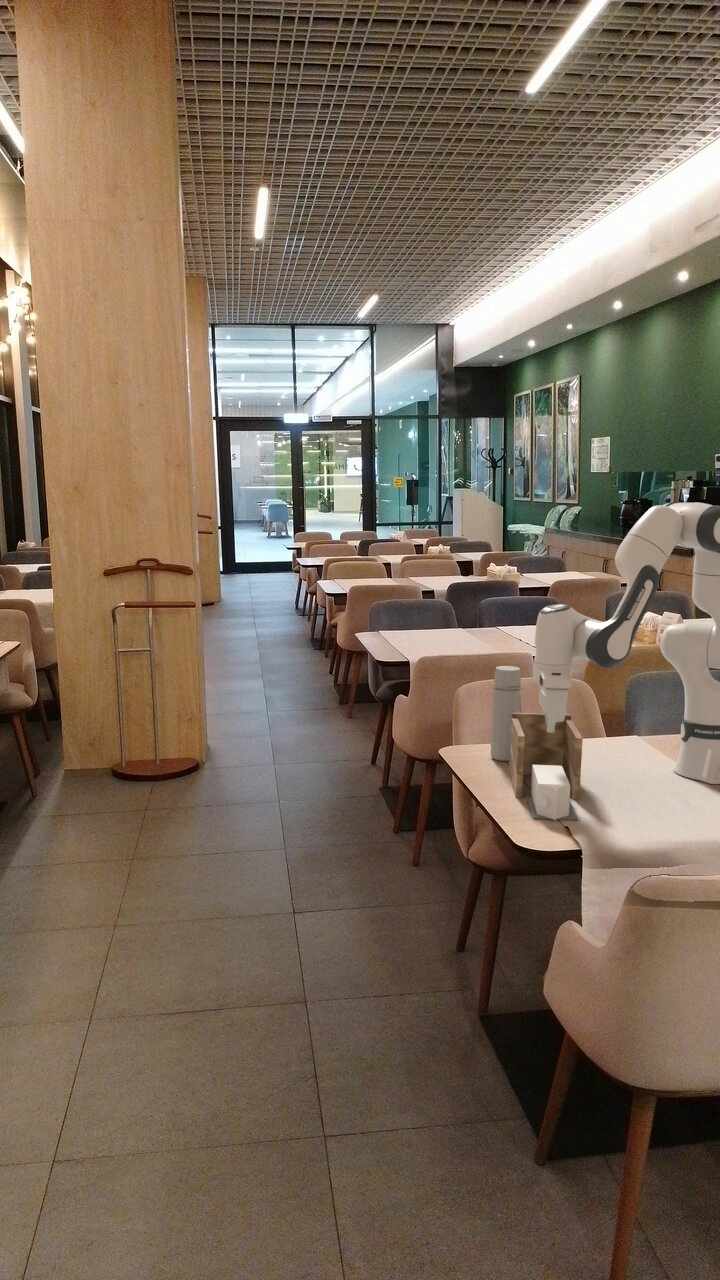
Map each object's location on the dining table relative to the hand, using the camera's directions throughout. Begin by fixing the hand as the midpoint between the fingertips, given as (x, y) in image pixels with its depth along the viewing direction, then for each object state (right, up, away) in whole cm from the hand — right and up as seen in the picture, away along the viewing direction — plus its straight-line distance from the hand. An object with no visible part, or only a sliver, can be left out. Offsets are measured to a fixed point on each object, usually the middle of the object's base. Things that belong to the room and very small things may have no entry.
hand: (549, 731), depth 226 cm
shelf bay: (0, -15, +10) cm, 18 cm away
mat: (-1, -17, -6) cm, 18 cm away
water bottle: (-5, -11, +34) cm, 36 cm away
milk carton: (0, -12, +3) cm, 12 cm away
